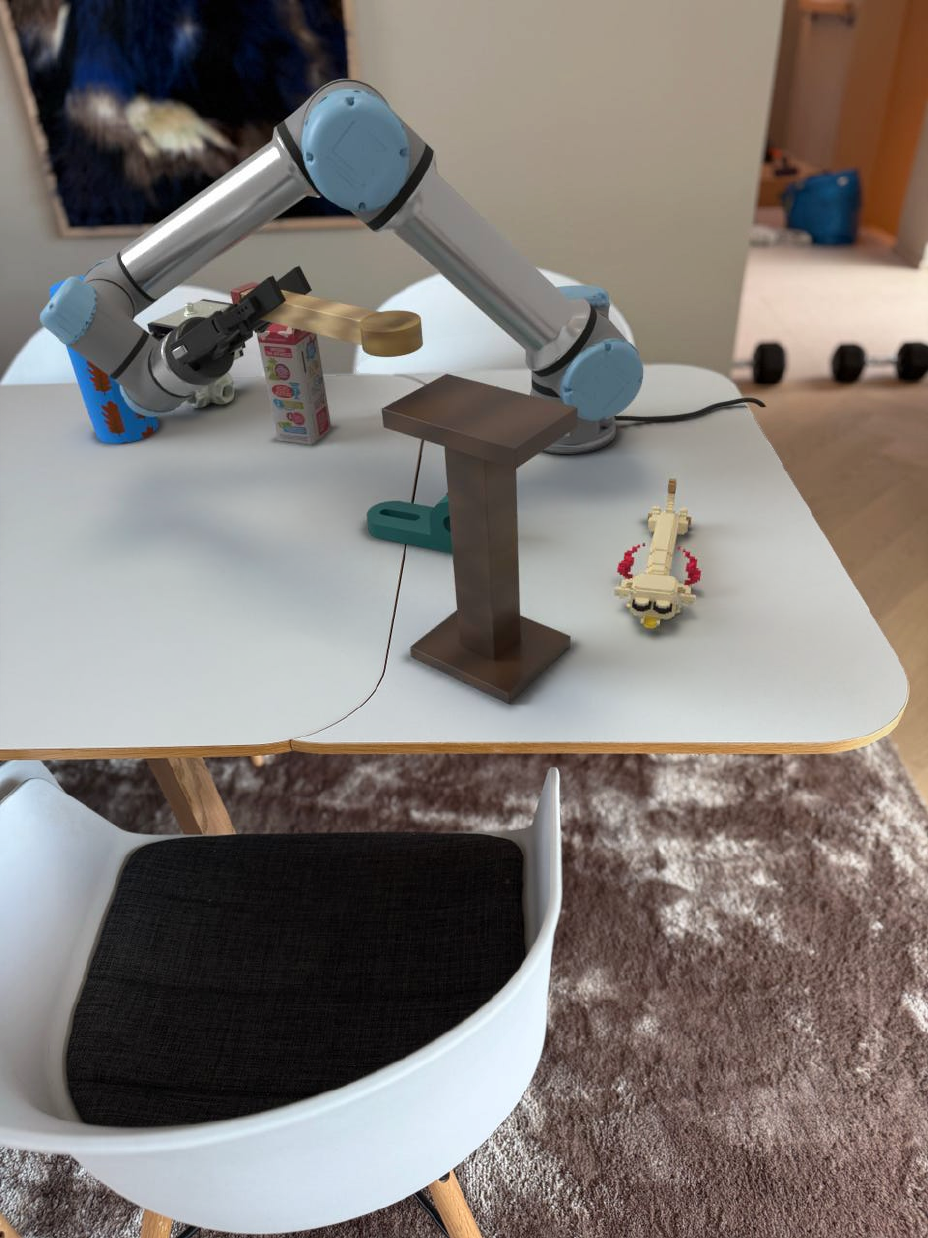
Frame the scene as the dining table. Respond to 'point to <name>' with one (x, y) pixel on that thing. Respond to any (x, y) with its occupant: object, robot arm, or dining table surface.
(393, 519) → the bracket
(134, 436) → the thermos
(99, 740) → the dining table surface
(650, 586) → the cream toy animal figure
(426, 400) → the stand
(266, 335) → the juice carton
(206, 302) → the ball valve
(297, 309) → the pointer
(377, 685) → the dining table surface
